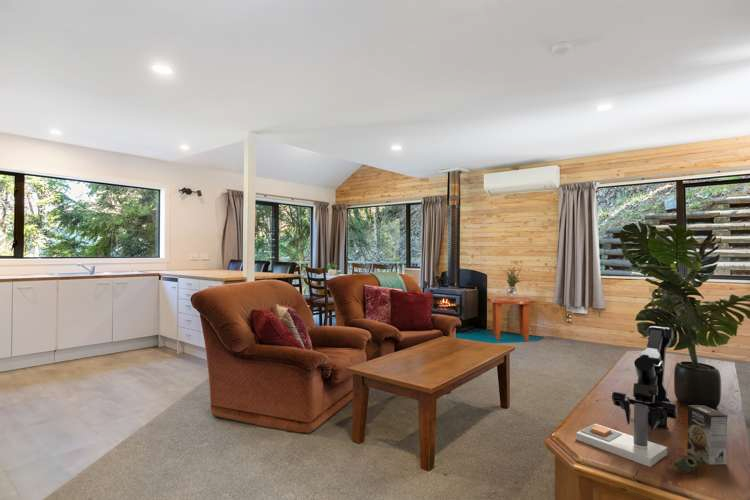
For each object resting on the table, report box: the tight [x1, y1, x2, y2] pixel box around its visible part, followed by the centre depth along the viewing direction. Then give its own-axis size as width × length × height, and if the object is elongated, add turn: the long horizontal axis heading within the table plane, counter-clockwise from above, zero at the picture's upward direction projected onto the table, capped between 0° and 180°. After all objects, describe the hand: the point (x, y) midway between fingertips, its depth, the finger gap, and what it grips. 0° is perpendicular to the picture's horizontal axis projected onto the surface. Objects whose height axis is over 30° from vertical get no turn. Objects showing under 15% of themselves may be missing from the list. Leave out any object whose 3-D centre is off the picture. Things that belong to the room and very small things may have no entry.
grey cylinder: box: [633, 403, 649, 449], centre depth 143 cm, size 4×4×14 cm
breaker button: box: [591, 424, 611, 437], centre depth 154 cm, size 5×5×2 cm
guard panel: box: [575, 423, 668, 468], centre depth 148 cm, size 24×14×3 cm, turn 37°
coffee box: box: [686, 404, 728, 466], centre depth 141 cm, size 9×6×16 cm
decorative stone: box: [671, 455, 704, 474], centre depth 132 cm, size 11×8×5 cm
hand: (640, 427), depth 142 cm, fingers open, 7 cm apart
